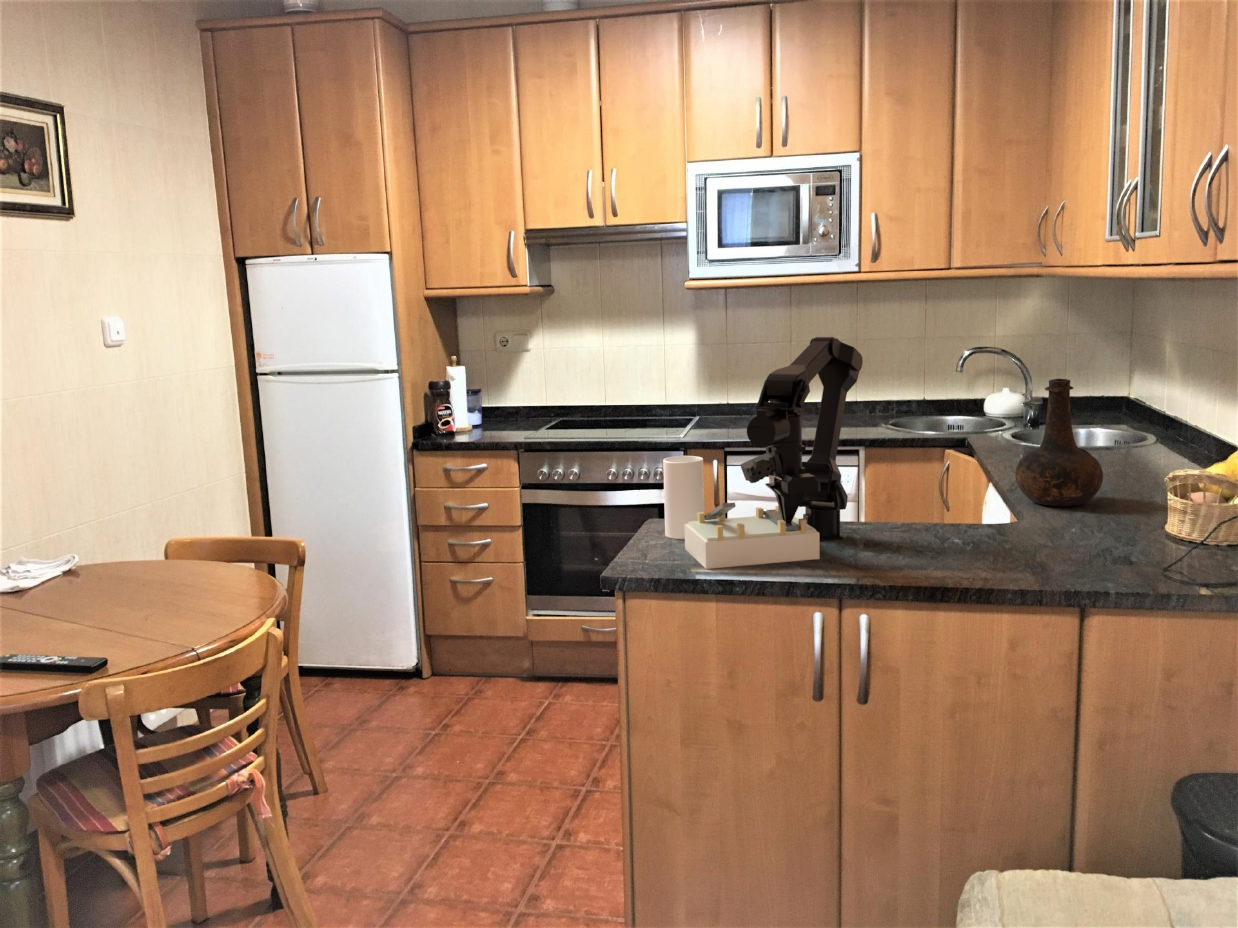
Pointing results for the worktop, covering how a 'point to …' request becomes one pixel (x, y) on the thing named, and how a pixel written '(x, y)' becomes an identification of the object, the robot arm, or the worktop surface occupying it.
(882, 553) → the worktop surface
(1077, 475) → the glass bottle
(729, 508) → the strap
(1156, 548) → the worktop surface
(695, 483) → the cup
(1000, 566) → the worktop surface
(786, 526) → the strap
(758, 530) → the storage box
